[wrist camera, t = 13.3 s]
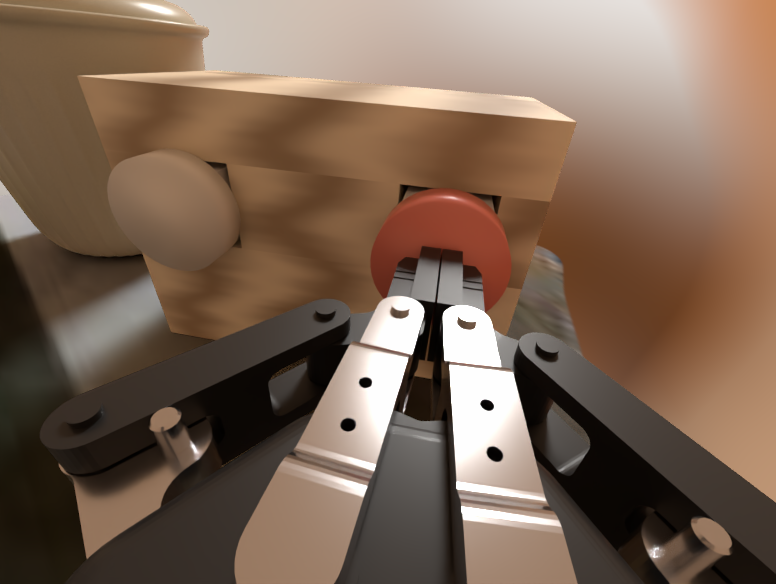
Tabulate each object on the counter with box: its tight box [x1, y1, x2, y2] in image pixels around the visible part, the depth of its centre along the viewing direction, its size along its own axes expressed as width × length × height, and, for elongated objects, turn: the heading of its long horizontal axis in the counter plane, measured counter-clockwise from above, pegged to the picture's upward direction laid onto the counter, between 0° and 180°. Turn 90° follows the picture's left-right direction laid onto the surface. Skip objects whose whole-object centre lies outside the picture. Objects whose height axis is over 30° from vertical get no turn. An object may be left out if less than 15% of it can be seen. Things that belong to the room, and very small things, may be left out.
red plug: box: [370, 185, 512, 324], centre depth 17 cm, size 5×9×5 cm, turn 170°
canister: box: [0, 0, 209, 257], centre depth 28 cm, size 18×18×21 cm
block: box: [77, 70, 577, 379], centre depth 22 cm, size 20×10×14 cm, turn 80°
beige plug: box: [107, 148, 241, 271], centre depth 19 cm, size 5×9×5 cm, turn 170°
